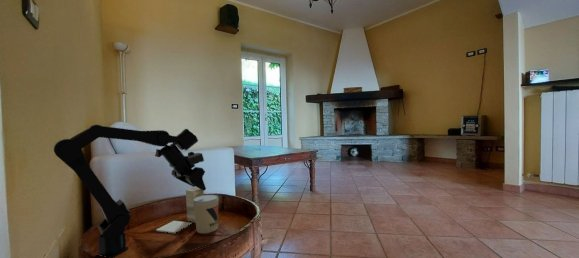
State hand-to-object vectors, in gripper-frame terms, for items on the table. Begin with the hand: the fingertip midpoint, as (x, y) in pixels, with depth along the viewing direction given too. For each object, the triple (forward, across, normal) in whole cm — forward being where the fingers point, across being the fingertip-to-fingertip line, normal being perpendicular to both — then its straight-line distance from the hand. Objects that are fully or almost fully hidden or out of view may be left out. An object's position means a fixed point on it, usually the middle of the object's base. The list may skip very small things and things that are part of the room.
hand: (199, 188), depth 101 cm
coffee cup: (+12, -7, +9) cm, 16 cm away
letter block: (+12, +6, +8) cm, 16 cm away
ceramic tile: (+7, +5, +15) cm, 18 cm away
